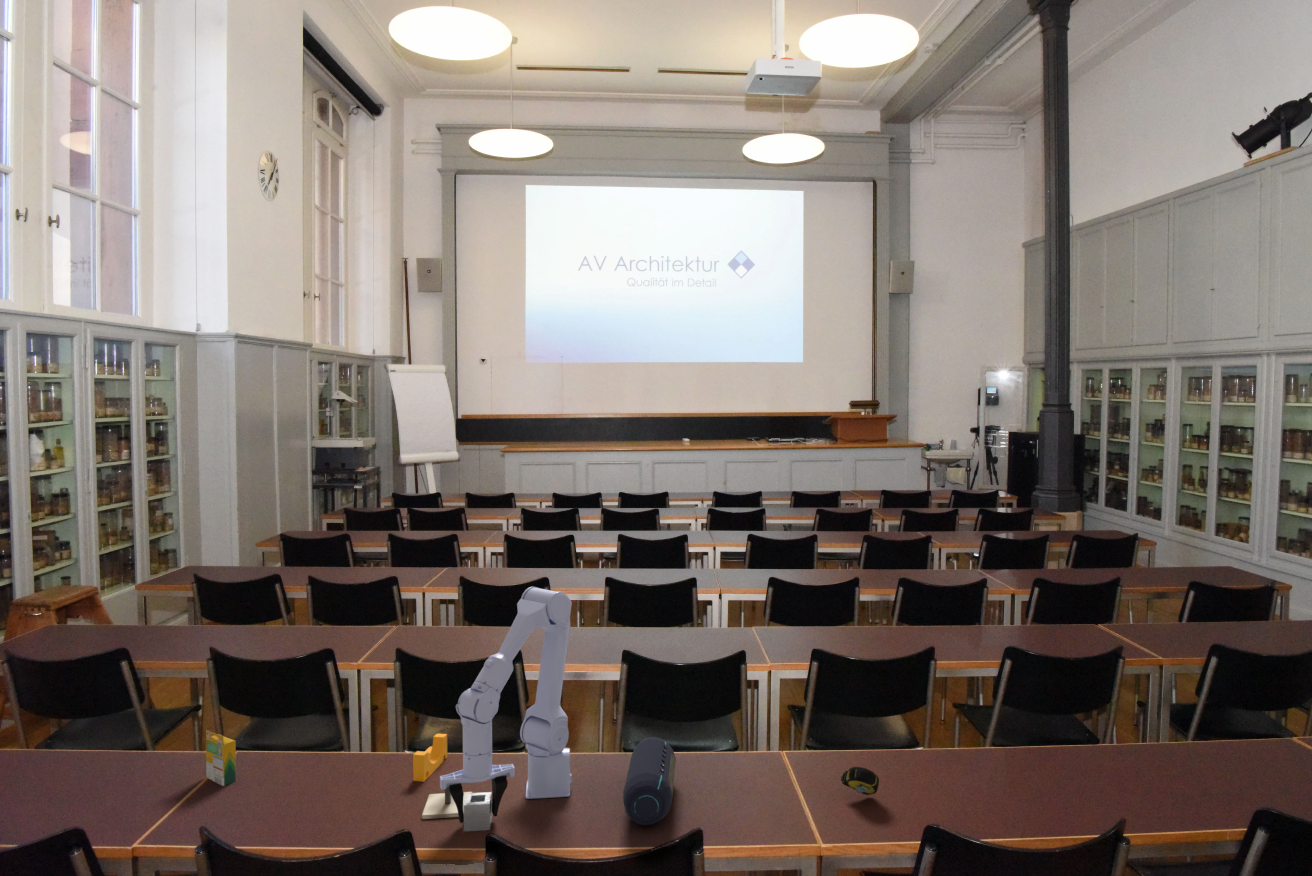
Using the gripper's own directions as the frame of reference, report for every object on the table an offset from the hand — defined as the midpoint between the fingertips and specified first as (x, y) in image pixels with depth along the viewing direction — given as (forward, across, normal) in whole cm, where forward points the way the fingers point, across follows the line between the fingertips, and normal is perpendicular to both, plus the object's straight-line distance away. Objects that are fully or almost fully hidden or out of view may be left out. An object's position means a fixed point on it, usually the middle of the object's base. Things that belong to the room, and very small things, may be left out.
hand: (478, 817), depth 156 cm
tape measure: (+2, -78, +20) cm, 80 cm away
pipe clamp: (+2, +7, -29) cm, 30 cm away
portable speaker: (+2, -36, +4) cm, 36 cm away
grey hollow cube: (+1, 0, 0) cm, 1 cm away
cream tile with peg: (+1, +5, -10) cm, 11 cm away
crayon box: (+2, +50, -40) cm, 65 cm away
